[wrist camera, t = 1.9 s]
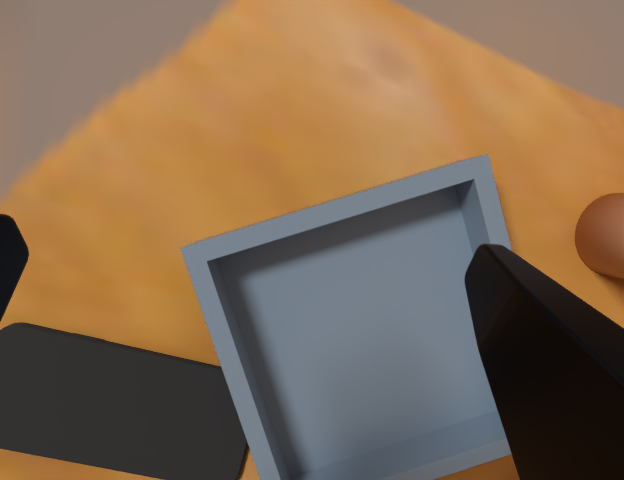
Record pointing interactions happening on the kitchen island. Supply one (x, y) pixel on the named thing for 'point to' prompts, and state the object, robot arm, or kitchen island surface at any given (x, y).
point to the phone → (116, 406)
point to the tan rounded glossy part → (602, 235)
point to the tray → (358, 330)
